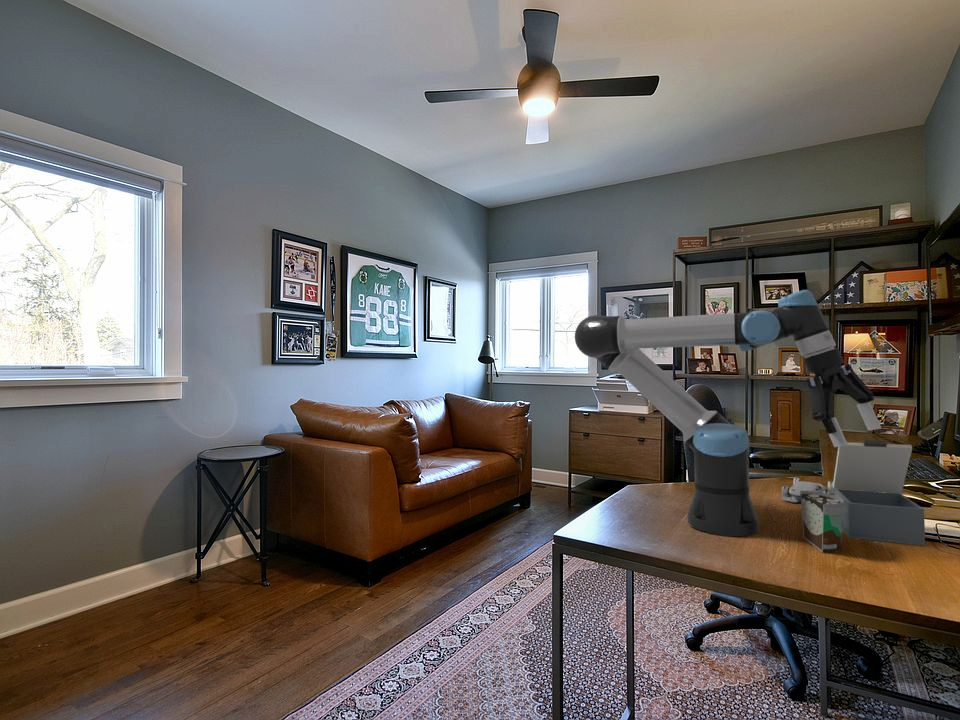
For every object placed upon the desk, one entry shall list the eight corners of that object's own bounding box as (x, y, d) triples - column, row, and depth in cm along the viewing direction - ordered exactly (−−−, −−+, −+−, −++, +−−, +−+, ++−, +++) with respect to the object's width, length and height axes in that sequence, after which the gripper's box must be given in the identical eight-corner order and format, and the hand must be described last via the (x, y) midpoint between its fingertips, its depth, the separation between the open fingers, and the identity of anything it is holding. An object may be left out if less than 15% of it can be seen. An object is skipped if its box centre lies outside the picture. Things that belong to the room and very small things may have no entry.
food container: (861, 557, 100) (859, 505, 101) (825, 555, 102) (824, 504, 102) (831, 536, 113) (830, 490, 113) (800, 535, 114) (799, 489, 114)
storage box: (849, 537, 111) (848, 503, 112) (834, 519, 124) (834, 488, 124) (925, 545, 106) (924, 509, 106) (901, 526, 119) (901, 493, 119)
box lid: (840, 442, 117) (839, 439, 118) (833, 488, 124) (832, 485, 125) (913, 444, 112) (911, 441, 112) (901, 493, 119) (900, 490, 120)
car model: (837, 492, 152) (836, 475, 152) (826, 511, 133) (826, 491, 133) (793, 487, 159) (793, 471, 159) (777, 504, 140) (777, 485, 140)
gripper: (801, 359, 115) (842, 451, 111) (865, 337, 125) (904, 420, 122) (772, 368, 122) (810, 455, 118) (835, 346, 132) (872, 425, 128)
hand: (858, 437), depth 120 cm, fingers open, 13 cm apart
